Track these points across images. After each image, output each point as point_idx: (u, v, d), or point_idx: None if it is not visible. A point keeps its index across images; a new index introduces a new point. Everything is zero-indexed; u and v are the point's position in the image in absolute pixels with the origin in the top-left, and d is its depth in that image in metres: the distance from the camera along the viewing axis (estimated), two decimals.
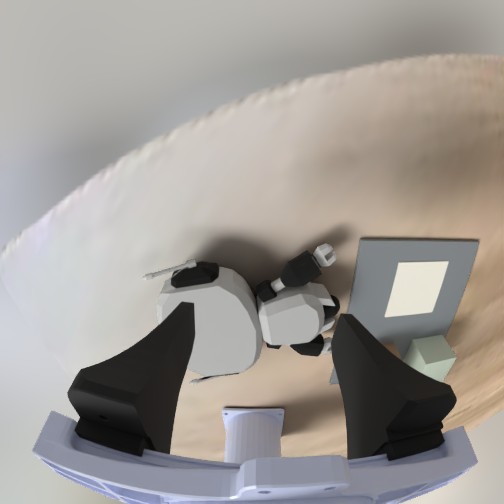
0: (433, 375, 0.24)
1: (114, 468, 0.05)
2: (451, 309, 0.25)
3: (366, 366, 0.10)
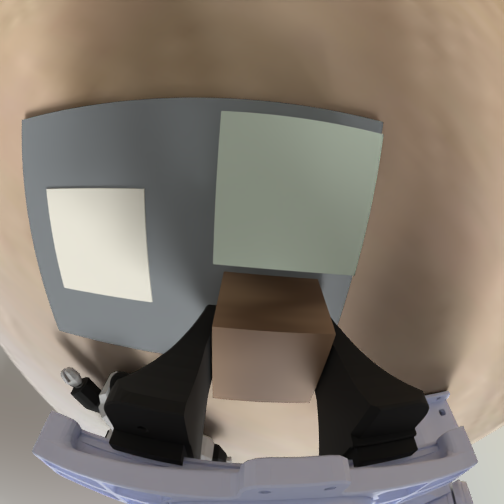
0: (302, 203, 0.08)
1: (114, 468, 0.05)
2: (147, 121, 0.10)
3: (336, 367, 0.10)
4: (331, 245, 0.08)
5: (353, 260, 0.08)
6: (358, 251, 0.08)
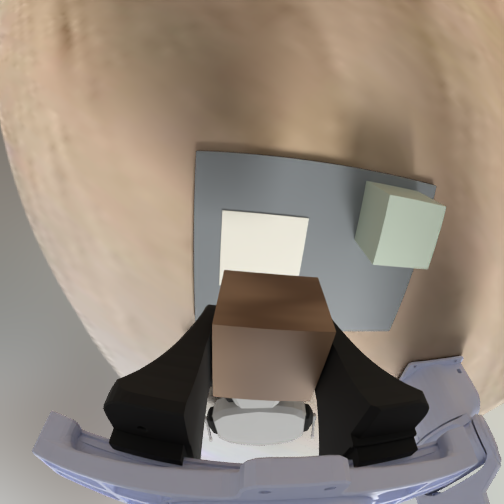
0: (413, 237, 0.16)
1: (114, 468, 0.05)
2: (315, 176, 0.18)
3: (336, 367, 0.10)
4: (421, 255, 0.16)
5: (428, 262, 0.16)
6: (430, 258, 0.16)
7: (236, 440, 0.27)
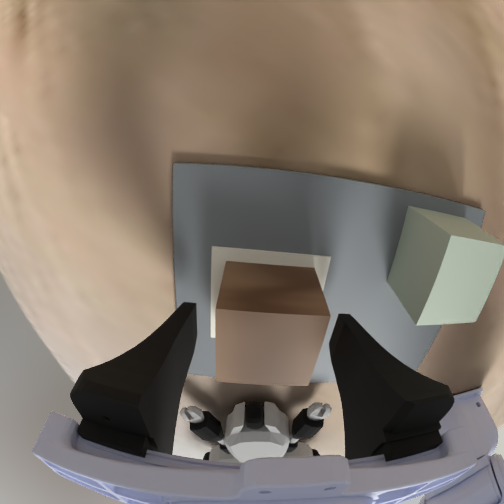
0: (468, 287, 0.10)
1: (114, 468, 0.05)
2: (343, 199, 0.13)
3: (364, 366, 0.10)
4: (471, 308, 0.11)
5: (477, 314, 0.11)
6: (481, 309, 0.11)
7: None
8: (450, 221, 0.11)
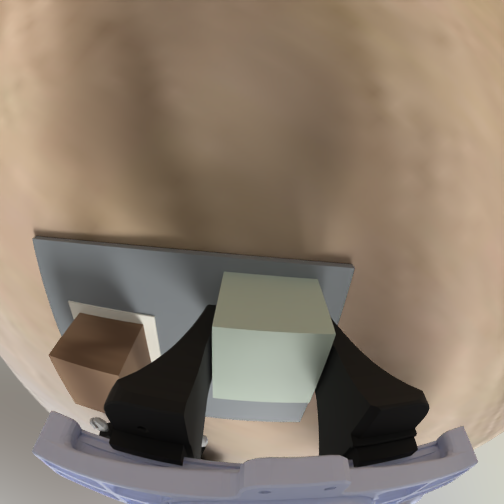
0: (271, 373, 0.11)
1: (114, 468, 0.05)
2: (150, 268, 0.13)
3: (336, 367, 0.10)
4: (292, 391, 0.11)
5: (308, 396, 0.11)
6: (311, 392, 0.11)
7: None
8: (263, 294, 0.12)
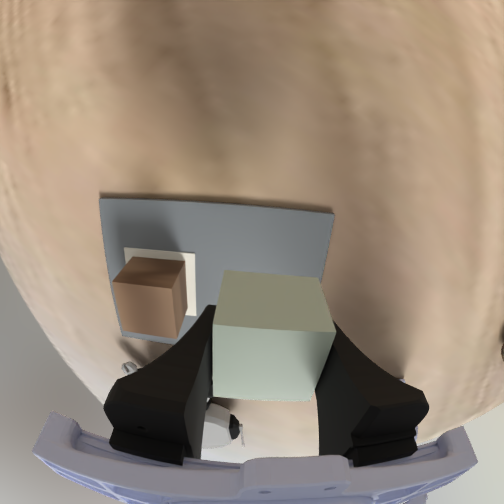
0: (271, 372, 0.11)
1: (114, 468, 0.05)
2: (195, 215, 0.20)
3: (336, 367, 0.10)
4: (292, 389, 0.11)
5: (308, 394, 0.11)
6: (312, 391, 0.11)
7: None
8: (263, 292, 0.12)
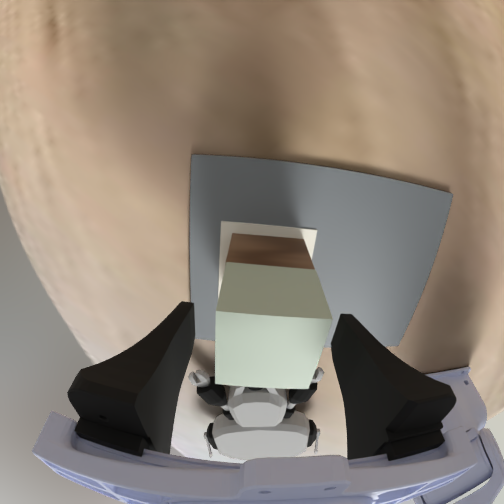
0: (271, 358, 0.11)
1: (114, 468, 0.05)
2: (325, 183, 0.16)
3: (366, 366, 0.10)
4: (292, 376, 0.12)
5: (307, 382, 0.12)
6: (310, 378, 0.12)
7: (237, 456, 0.25)
8: (264, 282, 0.13)
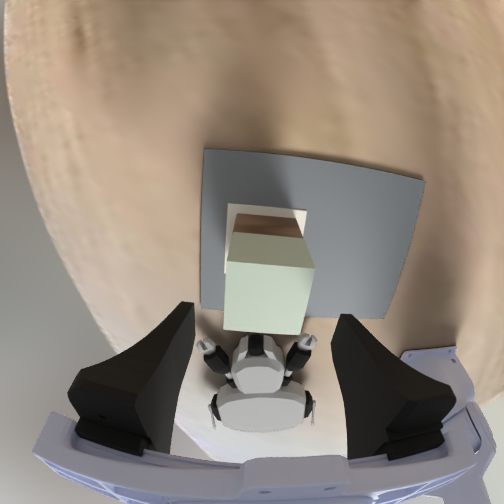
0: (269, 303, 0.15)
1: (114, 468, 0.05)
2: (313, 172, 0.20)
3: (366, 366, 0.10)
4: (285, 322, 0.16)
5: (298, 328, 0.16)
6: (301, 324, 0.16)
7: (238, 427, 0.28)
8: (262, 245, 0.16)
